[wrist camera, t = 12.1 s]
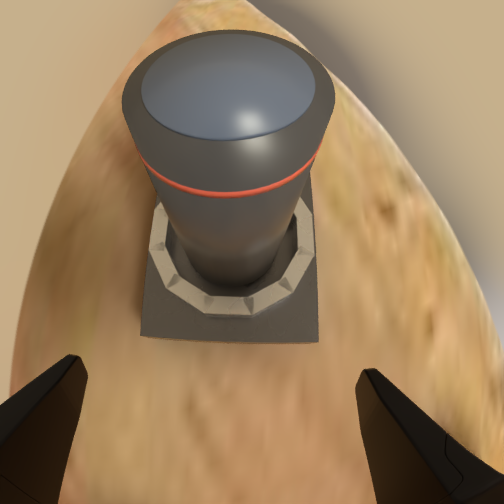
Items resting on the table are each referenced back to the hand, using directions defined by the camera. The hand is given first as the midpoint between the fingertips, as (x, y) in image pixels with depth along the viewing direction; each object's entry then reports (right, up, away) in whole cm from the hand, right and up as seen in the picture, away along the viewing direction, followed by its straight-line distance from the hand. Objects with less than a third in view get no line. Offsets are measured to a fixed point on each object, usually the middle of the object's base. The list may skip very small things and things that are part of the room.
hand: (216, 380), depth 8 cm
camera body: (0, +4, +14) cm, 14 cm away
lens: (0, +5, +11) cm, 12 cm away
